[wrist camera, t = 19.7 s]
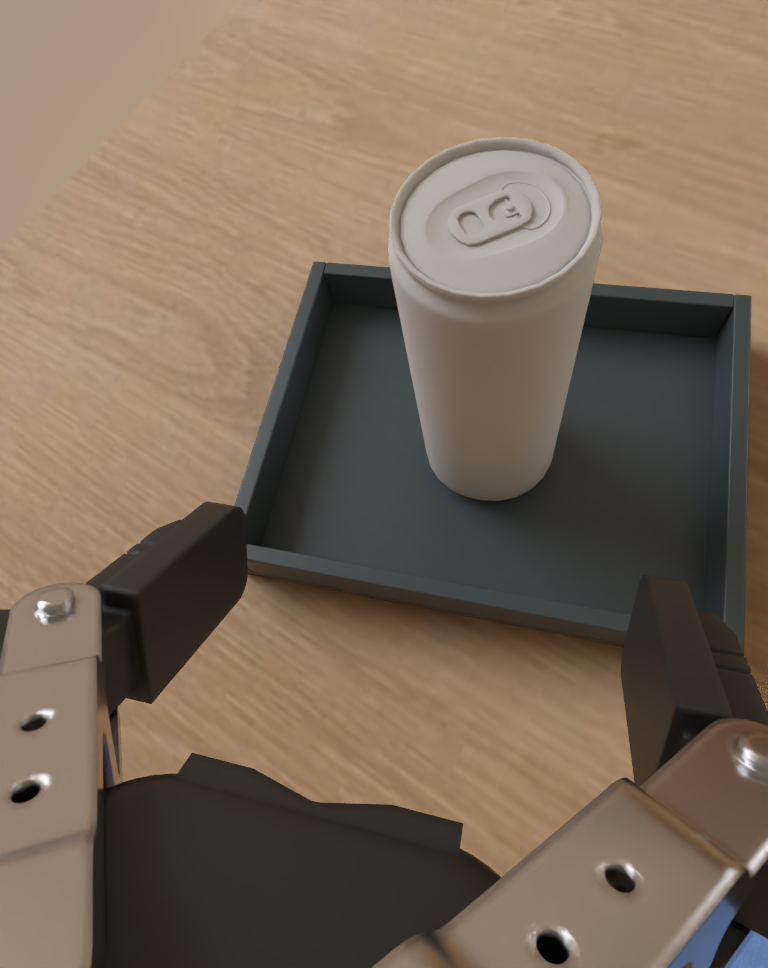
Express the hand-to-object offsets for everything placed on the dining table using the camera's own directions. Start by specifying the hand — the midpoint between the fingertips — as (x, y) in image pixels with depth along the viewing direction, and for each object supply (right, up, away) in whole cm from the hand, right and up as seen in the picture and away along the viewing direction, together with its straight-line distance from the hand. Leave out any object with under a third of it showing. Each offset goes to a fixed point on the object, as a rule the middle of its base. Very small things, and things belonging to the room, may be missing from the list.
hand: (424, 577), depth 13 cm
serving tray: (+3, +3, +12) cm, 13 cm away
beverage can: (+3, +3, +12) cm, 13 cm away
